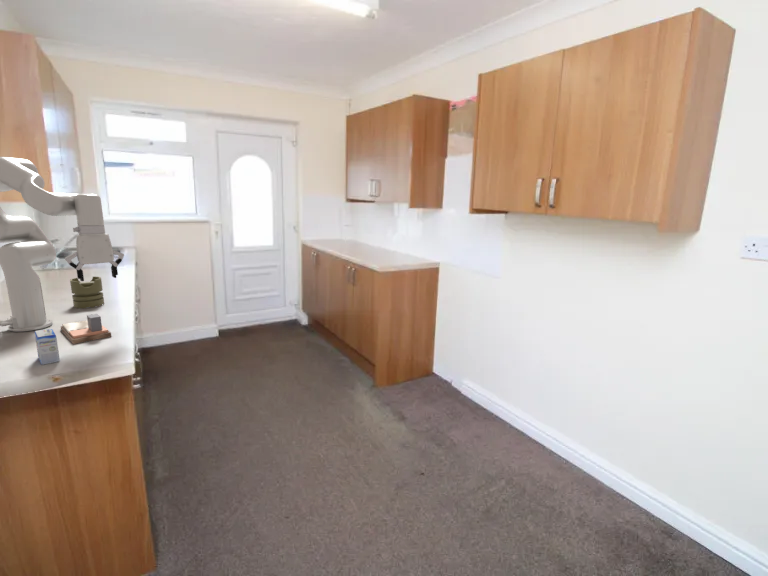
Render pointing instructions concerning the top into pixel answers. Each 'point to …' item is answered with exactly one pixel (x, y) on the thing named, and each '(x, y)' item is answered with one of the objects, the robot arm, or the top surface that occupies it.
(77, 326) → the board
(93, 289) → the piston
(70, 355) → the top surface
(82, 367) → the top surface
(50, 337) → the medicine box
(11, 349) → the top surface
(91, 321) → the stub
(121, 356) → the top surface
